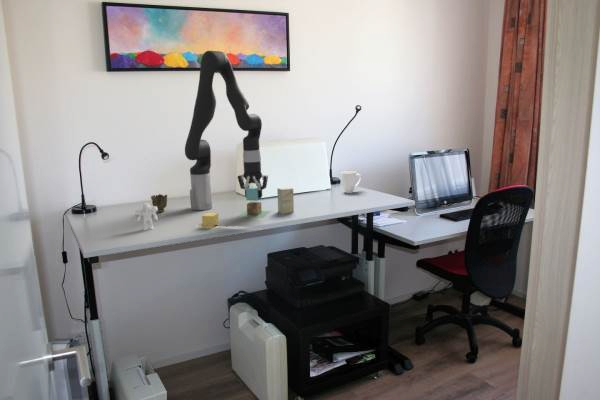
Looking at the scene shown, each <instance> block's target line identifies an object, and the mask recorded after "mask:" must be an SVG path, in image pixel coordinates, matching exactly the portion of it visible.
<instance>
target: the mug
mask: <svg viewBox="0 0 600 400" xmlns="http://www.w3.org/2000/svg"><path fill="white" fill-rule="evenodd" d="M340 176H341V177H340V178H341V180H340V182H341V186H342V188H343V191H344V193H345V194H353V193H354V191H355V189H356V187H357V186H359V184H360V183H361V182H362V175H361V174H360V173H357V171H355V170H344V171H343V170H342V171H341V174H340ZM357 176H359V180H357V179H358V177H357Z"/></svg>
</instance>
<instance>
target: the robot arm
mask: <svg viewBox="0 0 600 400" xmlns="http://www.w3.org/2000/svg"><path fill="white" fill-rule="evenodd" d="M199 69H200V70H199V80H198V86H197V93H196V99H195V103H194V107H193V113H192V114H193V115H192V117H191V123H190V128H189V131H188V135H187V138H186V141H185V144H184V154H185V155H184V156H186V157H185V158H187V160H189V161H196V162H195V163H194V165H192V166H191V167H190V168H189V176H190V187H191V188H190V189H189V197H190V198H189V199H190V209H191V210H194V211H207V210H211V209H213V201H212V200H213V199H212V187H211V174H210V173H211V172H210V170H211V166H212V163H211V162H212V159H211V158H212V156H211V154H212V153H211V152H212V151H211V146H210V144H209V141H207V140H206V139H202V136H203V133H204V132H205V131H206V129H207V127H208V126H209V125H210V123H211V122H212V120H213V118H214V116H215V111H216V107H217V99H216V95H215V92H214V87H213V82H214V77H215V74H219V75H221V77H222V79H223V81H224V84H225V92H226V93H225V94H226V98H227V100H228V102H229V104H230V106H231V107H232V109H233V111H234V115H235V120H236V122H237V125H238V127H239V128H240V129H241V130H242V131H243V132H244V131H245V132H247V135H246V136H244V137H243V138H242V147H243V148H242V149H243V151H242V152H243V153H242V159H243V160H242V162H243V174H239V175H237V181H238V183H239V184H238V185H239V187H240V189H242V190H244V196H245V198H246V189H247V188H249V187H251V186H250V185H251V184H255V187H257V188H258V199H259V200H261V198H263V190H265V189H266V188H267V186H268V179H269V175H268V174H267V175H264V174H263V173H262V166H261V165H262V163H261V159H262V157H261V151H260V137H261V132H262V127H263V124H262V123H263V122H262V119H261V117H260V115H259V114H257V113H248V109H249V108H250V104H249V101H248V100H247V97H246V96H245V93H243V91H242V89H241V87H240V85H239V83H238V79H237V77H236V75H235V72H234V69H233V67H232V63H231V61H230V59H229V57H228V55H227V53H225V52H223V51H219V50H206V51H205V52H203V54H202V57H201V60H200V68H199ZM244 179H245V180H246V181H245V182H244ZM261 179H262V180H263V181H261Z"/></svg>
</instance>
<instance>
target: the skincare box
mask: <svg viewBox="0 0 600 400" xmlns="http://www.w3.org/2000/svg"><path fill="white" fill-rule="evenodd" d="M294 206H295V204H294V188H293V187H291V186H290V187H289V186H288V187H280V188H279V187H277V212H278V213H279V214H281V215H284V214H290V213H294V212H295V211H294V210H295V209H294V208H295V207H294Z"/></svg>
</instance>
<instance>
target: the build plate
mask: <svg viewBox="0 0 600 400" xmlns="http://www.w3.org/2000/svg"><path fill="white" fill-rule="evenodd" d="M261 211H262V213H261V214H259V215H247V209H246V210H245V211H244V212H242V213H240V214H239V215H237V218H257V219H258V218H259V219H264V218H265V217H266V216H267V215H269V214H270V213H271V212H272V210H271V211H270V210H261Z"/></svg>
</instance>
